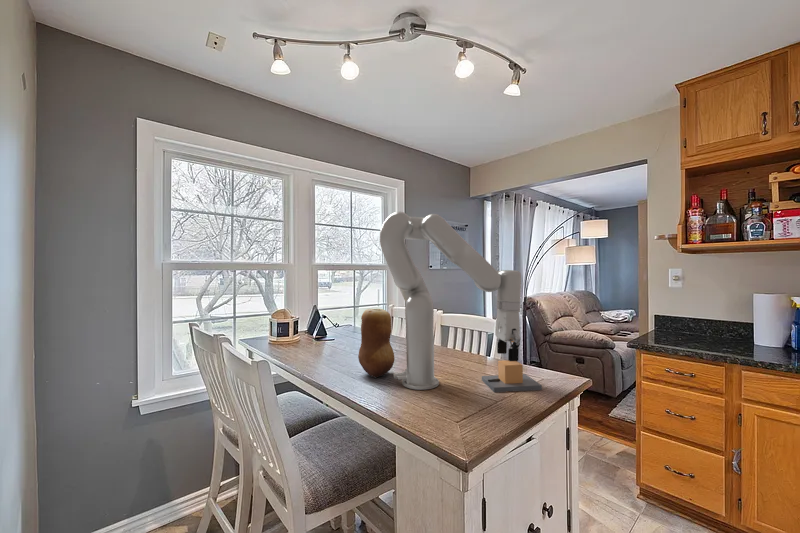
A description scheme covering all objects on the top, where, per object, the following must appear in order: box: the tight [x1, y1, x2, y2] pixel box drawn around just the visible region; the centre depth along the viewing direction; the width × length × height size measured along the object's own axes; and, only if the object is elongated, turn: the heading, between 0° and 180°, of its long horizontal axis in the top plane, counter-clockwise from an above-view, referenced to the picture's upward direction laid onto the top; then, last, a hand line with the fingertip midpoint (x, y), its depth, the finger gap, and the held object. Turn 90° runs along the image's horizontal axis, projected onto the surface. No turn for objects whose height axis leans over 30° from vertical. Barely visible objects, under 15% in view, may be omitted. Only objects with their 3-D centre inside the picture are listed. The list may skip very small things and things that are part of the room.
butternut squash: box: [358, 308, 395, 378], centre depth 132 cm, size 14×13×25 cm
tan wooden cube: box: [497, 359, 524, 384], centre depth 119 cm, size 6×6×6 cm
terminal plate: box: [481, 373, 543, 393], centre depth 119 cm, size 16×12×6 cm
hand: (507, 357), depth 119 cm, fingers open, 9 cm apart
